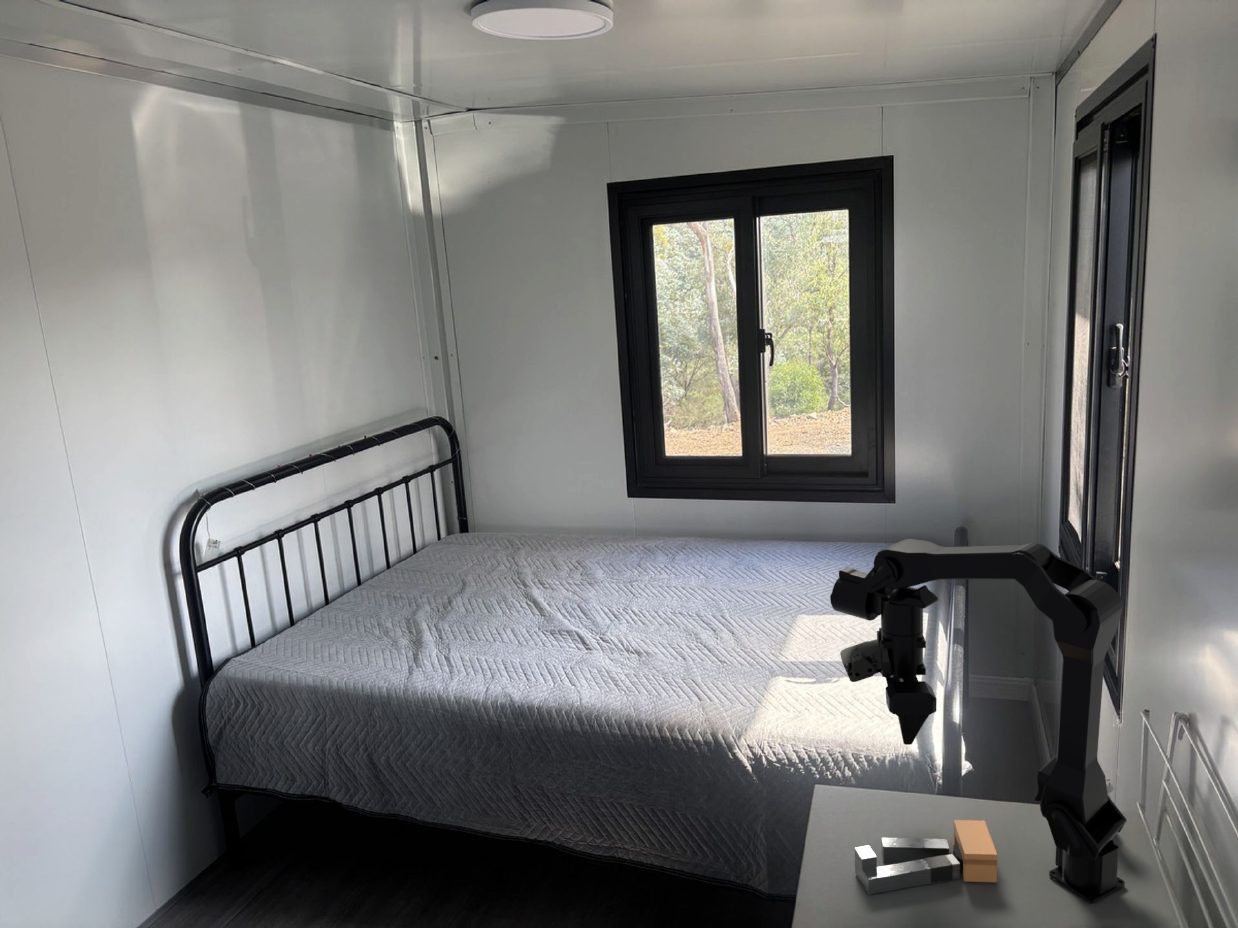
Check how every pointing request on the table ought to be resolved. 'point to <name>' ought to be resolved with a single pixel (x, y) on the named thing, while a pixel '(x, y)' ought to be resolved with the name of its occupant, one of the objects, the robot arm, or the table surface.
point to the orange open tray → (976, 851)
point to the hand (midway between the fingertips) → (902, 727)
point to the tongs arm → (902, 871)
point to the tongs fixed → (917, 849)
